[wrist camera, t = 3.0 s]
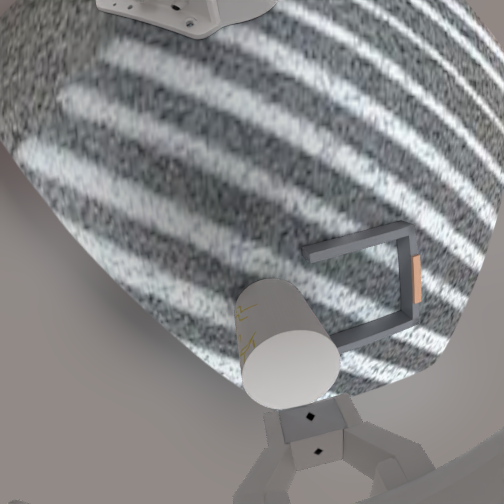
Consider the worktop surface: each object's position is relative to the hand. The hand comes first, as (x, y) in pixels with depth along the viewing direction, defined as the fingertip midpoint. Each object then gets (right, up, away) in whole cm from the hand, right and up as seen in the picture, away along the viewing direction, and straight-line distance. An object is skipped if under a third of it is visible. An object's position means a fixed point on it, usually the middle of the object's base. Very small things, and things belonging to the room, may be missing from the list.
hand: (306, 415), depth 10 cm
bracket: (+11, +2, +26) cm, 28 cm away
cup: (0, -1, +25) cm, 25 cm away
